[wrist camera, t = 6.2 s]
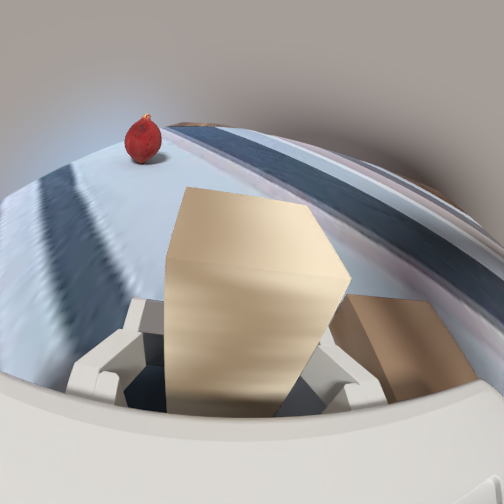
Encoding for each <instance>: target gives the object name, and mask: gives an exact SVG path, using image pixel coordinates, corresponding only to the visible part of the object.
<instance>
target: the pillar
mask: <svg viewBox="0 0 504 504" xmlns="http://www.w3.org/2000/svg"><path fill="white" fill-rule="evenodd" d="M350 281H351V277H350V275H349V273H348V272H347V270H346V268H345V267H344V265H343V263H342V261H341V260H340V258H339V256H338V255H337V253H336V251H335V250H334V248H333V247H332V245H331V243H330V242H329V240H328V238H327V237H326V235H325V233H324V232H323V230H322V229H321V227H320V225H319V224H318V222H317V221H316V219H315V218H314V216H313V214H312V213H311V211H310V210H309V208H308V207H307V206H306V205H301V204H295V203H290V202H284V201H278V200H272V199H266V198H260V197H254V196H248V195H242V194H235V193H228V192H222V191H215V190H207V189H200V188H192V187H186V190H185V193H184V196H183V199H182V203H181V206H180V209H179V213H178V216H177V219H176V223H175V226H174V230H173V233H172V237H171V240H170V244H169V248H168V252H167V255H166V265H165V293H164V361H165V387H166V405H167V413H169V414H179V415H189V416H203V417H223V418H273V417H274V415H275V414H276V412H277V411H278V409H279V408H280V406H281V405H282V403H283V402H284V400H285V398H286V397H287V395H288V394H289V392H290V391H291V389H292V387H293V386H294V384H295V382H296V381H297V379H298V378H299V376H300V374H301V373H302V371H303V369H304V367H305V366H306V364H307V362H308V361H309V359H310V357H311V355H312V354H313V352H314V350H315V348H316V347H317V345H318V343H319V341H320V339H321V338H322V336H323V334H324V332H325V330H326V328H327V327H328V325H329V323H330V321H331V319H332V317H333V315H334V313H335V311H336V309H337V307H338V305H339V303H340V302H341V300H342V298H343V295H344V293H345V291H346V289H347V287H348V285H349V283H350Z"/></svg>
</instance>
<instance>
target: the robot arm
mask: <svg viewBox="0 0 504 504" xmlns="http://www.w3.org/2000/svg"><path fill="white" fill-rule="evenodd" d="M146 365H152V366H162V367H165V361H164V301H158V300H151V299H143V298H137V297H133V299H132V301H131V304H130V307H129V310H128V314H127V317H126V320H125V324H124V327H123V329H118V330H117V331H116V332H114V333H113V334H112V335H110V336H109V337H108V338H106V339H105V340H104V341H103V342H101V343H100V344H99V345H97V346H96V347H95V348H93V349H92V350H91V351H90V352H88V353H87V354H86V355H84V356H83V357H82V358H81V359H79V360H78V361H77V362H75V363H74V366H73V369H72V372H71V375H70V378H69V381H68V384H67V388H66V391H65V393H63V392H59V391H56V390H52V389H49V388H46V387H43V386H40V385H37V384H34V383H31V382H28V381H26V380H23V379H20V378H17V377H15V376H12V375H10V374H7V373H5V372H2V371H0V504H504V398H503V396H502V395H501V394H500V393H499V392H498V391H497V390H496V389H495V388H494V387H492V386H491V385H490V384H488V383H487V382H485V381H484V380H481V379H478V380H474V381H472V382H469V383H466V384H463V385H460V386H457V387H454V388H451V389H447V390H444V391H441V392H437V393H434V394H430V395H426V396H422V397H419V398H415V399H410V400H406V401H402V402H397V403H392V404H388V402H387V400H386V397H385V395H384V392H383V390H382V388H381V385H380V383H379V380H378V379H377V378H376V377H374V376H373V375H372V374H371V373H369V372H368V371H367V370H366V369H365V368H363V367H362V366H361V365H360V364H359V363H357V362H356V361H355V360H354V359H353V358H351V357H350V356H349V355H348V354H347V353H345V352H344V351H343V350H342V349H341V348H340V347H338V346H337V345H333V342H332V340H331V337H330V334H329V332H328V329H327V328H326V330H325V332H324V334H323V336H322V338H321V339H320V341H319V343H318V345H317V347H316V348H315V350H314V352H313V354H312V355H311V357H310V359H309V361H308V362H307V364H306V366H305V367H304V369H303V371H302V373H301V377H302V378H303V379H304V380H305V381H306V383H307V384H308V385H309V386H310V387H311V388H312V390H313V391H314V392H315V393H316V394H317V395H318V396H319V398H320V399H321V400H322V401H323V402H324V403H325V404H326V406H327V407H326V409H325V410H324V411H323V412H322V413H321V414H320V415H309V416H296V417H276V418H223V417H203V416H189V415H179V414H169V413H161V412H153V411H146V410H140V409H134V408H128V406H127V402H126V399H125V396H124V392H123V391H124V390H125V389H126V388H127V386H128V385H129V384H130V383H131V382H132V381H133V380H134V379H135V378H136V376H137V375H138V374H139V373H140V372H141V371H142V370H143V369H144V368H145V367H146Z"/></svg>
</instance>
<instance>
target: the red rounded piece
mask: <svg viewBox="0 0 504 504" xmlns="http://www.w3.org/2000/svg"><path fill="white" fill-rule="evenodd" d="M150 117H151V116H150V115H149V114H144V116H143V117H142V118H141V119H140V120H139V121H138V122H136V123H135V124H133V125H132V127H131V128H130V129H129V131H128V132H127V134H126V137H125V148H126V151H127V153H128V154H129V155H130V156H131V157H132V158H133V159H134V160H135V161H137V162H138V163H140V164H143V163H145V162H146V161H147V160H148V159H150V158H151V157H152V156H154V155H155V154H156V153H157V152H158V150H159V149H160V147H161V142H162V137H161V132H160V130H159V128H158V127H157V125H156V124H155V123H154V122H152V121H151V120H150Z"/></svg>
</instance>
